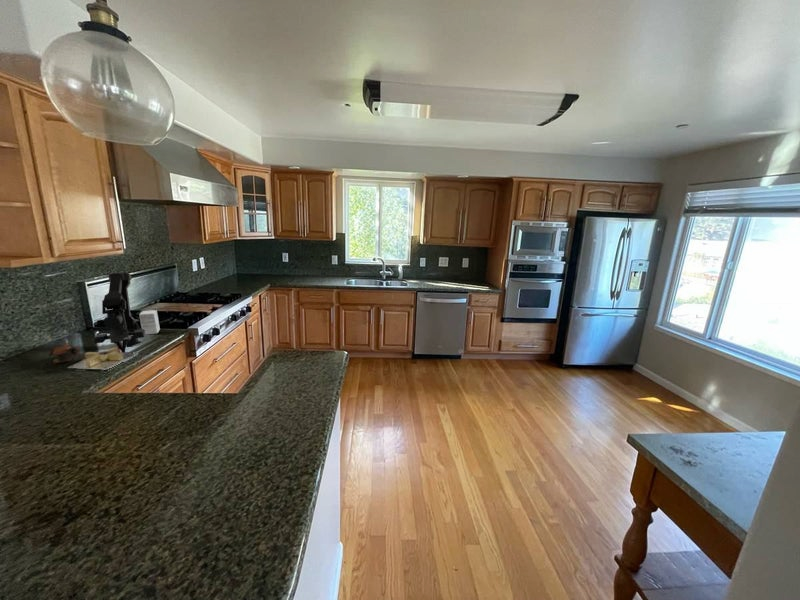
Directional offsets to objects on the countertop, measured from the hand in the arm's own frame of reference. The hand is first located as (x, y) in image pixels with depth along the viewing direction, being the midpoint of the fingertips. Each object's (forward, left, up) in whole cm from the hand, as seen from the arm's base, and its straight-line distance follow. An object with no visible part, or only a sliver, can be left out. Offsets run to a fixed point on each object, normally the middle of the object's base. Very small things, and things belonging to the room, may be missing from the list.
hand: (123, 352), depth 161 cm
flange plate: (+6, -5, -2) cm, 8 cm away
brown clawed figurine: (+4, -24, -3) cm, 25 cm away
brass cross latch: (+6, -5, -1) cm, 8 cm away
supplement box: (-35, -13, -3) cm, 37 cm away
